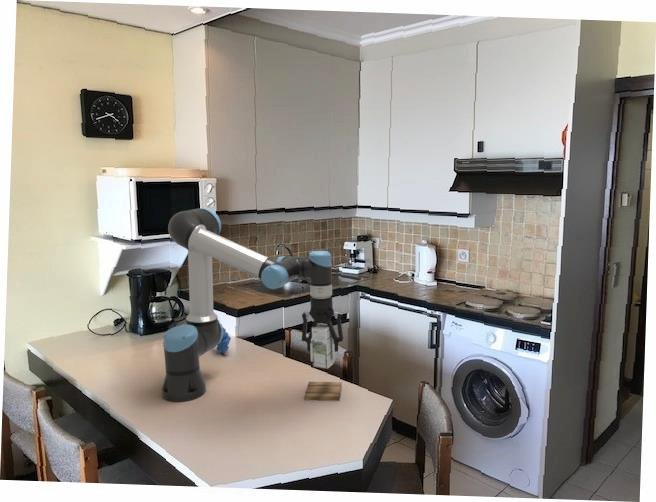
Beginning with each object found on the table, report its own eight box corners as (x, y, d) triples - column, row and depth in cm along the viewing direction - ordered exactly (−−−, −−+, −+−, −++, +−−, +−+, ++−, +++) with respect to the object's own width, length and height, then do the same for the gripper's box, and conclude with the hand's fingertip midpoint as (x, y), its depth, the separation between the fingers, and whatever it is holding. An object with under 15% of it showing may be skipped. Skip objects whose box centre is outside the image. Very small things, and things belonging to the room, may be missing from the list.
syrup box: (334, 363, 184) (333, 324, 182) (327, 369, 179) (326, 329, 177) (319, 361, 187) (318, 322, 184) (312, 367, 181) (311, 327, 179)
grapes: (237, 354, 224) (236, 327, 222) (223, 358, 220) (221, 331, 218) (225, 347, 233) (224, 321, 231) (211, 351, 229) (210, 324, 227)
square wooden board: (304, 400, 179) (304, 395, 179) (309, 385, 191) (308, 381, 191) (339, 400, 178) (339, 396, 178) (341, 386, 190) (341, 381, 190)
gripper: (290, 299, 176) (293, 363, 180) (349, 298, 174) (351, 364, 178) (294, 293, 183) (296, 355, 187) (350, 293, 182) (352, 356, 185)
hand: (323, 359), depth 183 cm, fingers closed on syrup box, 7 cm apart
